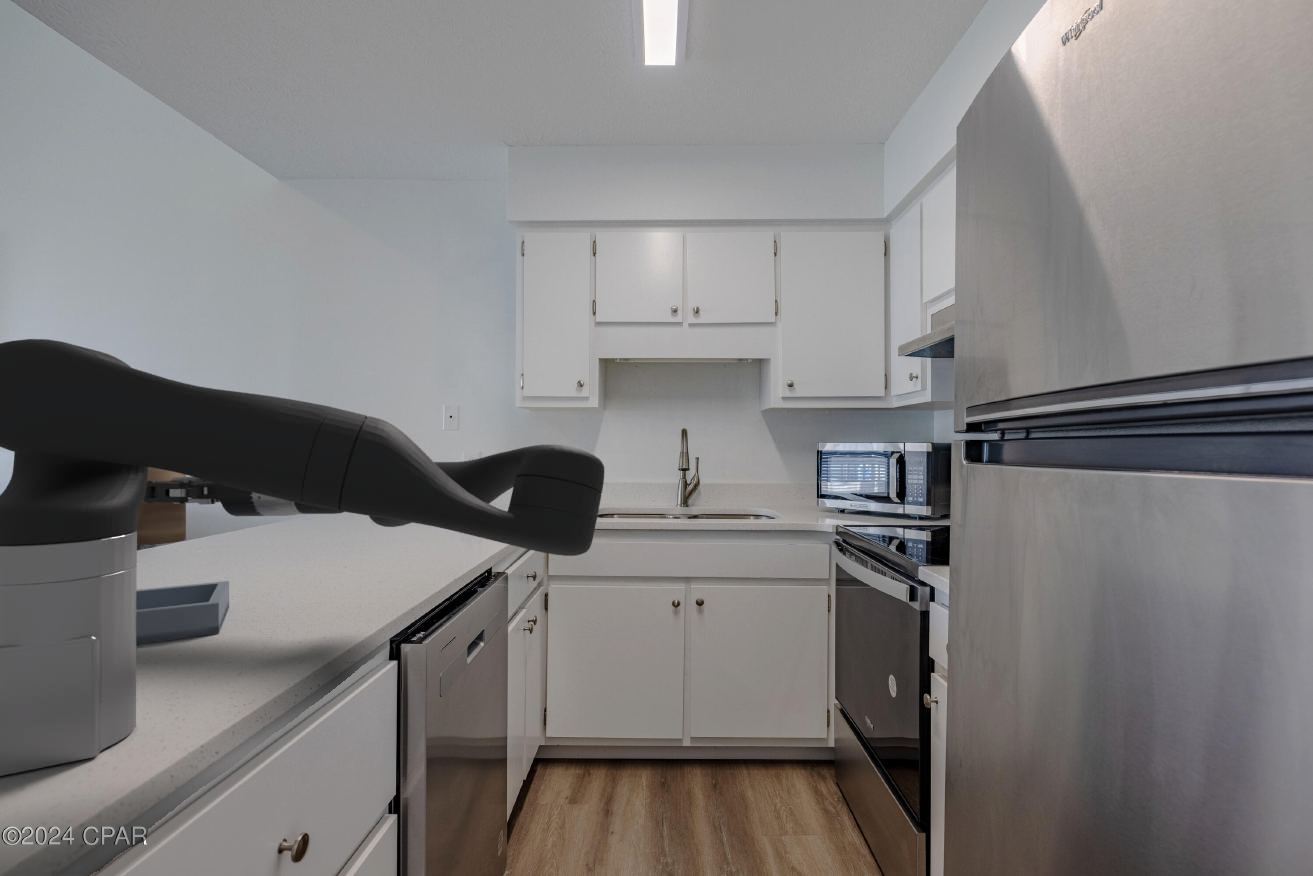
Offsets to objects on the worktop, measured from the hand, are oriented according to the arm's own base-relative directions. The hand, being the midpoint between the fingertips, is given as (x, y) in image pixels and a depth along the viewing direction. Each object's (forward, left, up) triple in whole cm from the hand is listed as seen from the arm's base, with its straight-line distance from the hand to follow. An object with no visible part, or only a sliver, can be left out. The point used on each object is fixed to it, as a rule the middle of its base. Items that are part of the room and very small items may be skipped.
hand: (141, 488), depth 81 cm
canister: (-1, -2, -7) cm, 8 cm away
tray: (-1, -2, -19) cm, 19 cm away
